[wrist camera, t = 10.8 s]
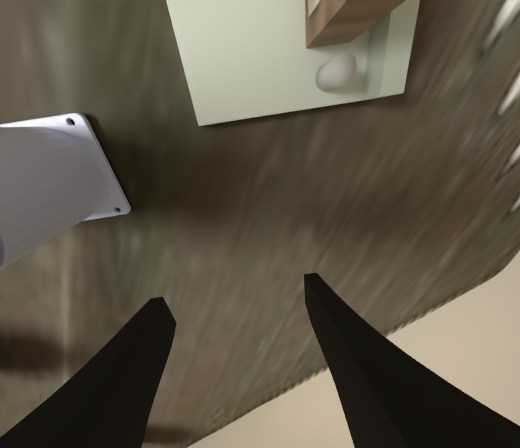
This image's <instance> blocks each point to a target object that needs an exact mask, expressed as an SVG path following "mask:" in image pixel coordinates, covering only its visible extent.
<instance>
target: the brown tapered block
mask: <svg viewBox="0 0 520 448" xmlns="http://www.w3.org/2000/svg"><path fill="white" fill-rule="evenodd" d="M404 1H406V0H305V29H306V48H313V47H320V46H327V45H334V44H341V43H348V42H351V41H352V40H354V39H355V38H356V37H358V36H359V35H360V34H362V33H363V32H364V31H366V30H367V29H368V28H370V27H371V26H372V25H374V24H375V23H376V22H378V21H379V20H380V19H382V18H383V17H384V16H386V15H387V14H388V13H390V12H391V11H392V10H394V9H395V8H396V7H398V6H399V5H400V4H402V3H403V2H404Z"/></svg>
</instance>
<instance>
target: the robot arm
mask: <svg viewBox="0 0 520 448" xmlns="http://www.w3.org/2000/svg"><path fill="white" fill-rule="evenodd" d="M71 119H73V120H74V122H75V125H73V124H72V123H71V121H70V120H71ZM117 207H118V208H119V209H120V210H121V211H119V210H117ZM130 211H131V207H130V205H129V203H128V201H127V199H126V197H125V195H124V193H123V191H122V188H121V186H120V184H119V182H118V180H117V178H116V176H115V174H114V172H113V170H112V168H111V166H110V164H109V162H108V160H107V158H106V156H105V154H104V152H103V150H102V148H101V146H100V144H99V142H98V140H97V138H96V136H95V134H94V132H93V130H92V128H91V125H90V123H89V121H88V120H87V118H86V117H85V116H84V115H82V114H80V113H71V114H65V115H58V116H52V117H45V118H39V119H32V120H25V121H19V122H12V123H6V124H0V271H1V270H2V269H4V268H6V267H7V266H9V265H11V264H12V263H14V262H16V261H17V260H19V259H20V258H22V257H24V256H25V255H27V254H29V253H30V252H32V251H34V250H35V249H37V248H39V247H40V246H42V245H43V244H45V243H47V242H48V241H50V240H52V239H53V238H55V237H57V236H58V235H60V234H62V233H63V232H65V231H66V230H68V229H70V228H71V227H73V226H75V225H76V224H78V223H80V222H81V221H86V220H92V219H98V218H104V217H111V216H117V215H123V214H127V213H129V212H130ZM304 286H305V304H306V307H307V311H308V314H309V318H310V321H311V324H312V327H313V329H314V332H315V334H316V337H317V339H318V342H319V344H320V347H321V349H322V352H323V354H324V357H325V359H326V362H327V364H328V367H329V369H330V372H331V374H332V377H333V380H334V382H335V385H336V389H337V392H338V395H339V398H340V401H341V404H342V408H343V411H344V414H345V417H346V421H347V424H348V427H349V430H350V434H351V437H352V440H353V443H354V447H355V448H520V426H519V425H517V424H515V423H513V422H512V421H510V420H508V419H507V418H505V417H503V416H502V415H500V414H498V413H497V412H495V411H493V410H491V409H490V408H488V407H486V406H485V405H483V404H482V403H480V402H478V401H477V400H475V399H473V398H472V397H470V396H469V395H467V394H466V393H464V392H462V391H461V390H459V389H458V388H456V387H455V386H453V385H452V384H450V383H448V382H447V381H445V380H444V379H442V378H441V377H440V376H438V375H437V374H435V373H434V372H432V371H431V370H429V369H428V368H426V367H425V366H424V365H422V364H421V363H419V362H418V361H416V360H415V359H413V358H412V357H411V356H409V355H408V354H406V353H405V352H404V351H402V350H401V349H400V348H398V347H397V346H396V345H394V344H393V343H392V342H390V341H389V340H388V339H386V338H385V337H384V336H383V335H382V334H380V333H379V332H378V331H377V330H375V329H374V328H373V327H372V326H371V325H369V324H368V323H367V322H366V321H365V320H364V319H363V318H361V317H360V316H359V315H358V314H357V313H356V312H355V311H354V310H353V309H351V308H350V307H349V306H348V305H347V304H346V303H345V302H344V301H343V300H342V299H341V298H340V297H339V296H338V295H337V294H336V293H335V292H334V291H333V290H332V289H331V288H330V287H329V286H328V285H327V284H326V282H325V281H324V280H323V279H322V278H321V277H320V276H319V275H318V274H317V273H311V274H304ZM175 328H176V321H175V319H174V317H173V315H172V314H171V312H170V310H169V308H168V306H167V304H166V302H165V300H164V298H163V297H158V298H152V299H150V300H149V301H148V302H147V303H146V304H145V305H144V306H143V307H142V308H141V309H140V310H139V311H138V312H137V313H136V314H135V315H134V316H133V317H132V318H131V319H130V320H129V321H128V323H127V324H126V325H125V326H124V327H123V328H122V329H121V330H120V331H119V332H118V333H117V334H116V335H115V336H114V337H113V338H112V339H111V340H110V341H109V342H108V343H107V344H106V345H105V346H104V347H103V348H102V349H101V350H100V351H99V352H98V353H97V354H96V355H95V356H94V357H93V358H92V359H91V360H90V361H89V362H88V363H87V364H86V365H85V366H84V367H82V368H81V369H80V370H79V371H78V372H77V373H76V374H75V375H74V376H73V377H72V378H71V379H69V380H68V381H67V382H66V383H65V384H64V385H63V386H62V387H60V388H59V389H58V390H57V391H56V392H55V393H54V394H52V395H51V396H50V397H49V398H48V399H47V400H46V401H44V402H43V403H42V404H41V405H40V406H38V407H37V408H36V409H35V410H33V411H32V412H31V413H30V414H29V415H27V416H26V417H25V418H24V419H23V420H21V421H20V422H19V423H18V424H16V425H15V426H14V427H13V428H12V429H10V430H9V431H8V432H7V433H5V434H4V435H3V436H2V437H0V448H141V446H142V442H143V438H144V434H145V430H146V426H147V422H148V418H149V414H150V411H151V407H152V404H153V401H154V398H155V395H156V392H157V389H158V386H159V383H160V380H161V377H162V374H163V371H164V368H165V365H166V362H167V359H168V356H169V353H170V350H171V346H172V343H173V338H174V333H175Z"/></svg>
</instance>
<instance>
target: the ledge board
mask: <svg viewBox="0 0 520 448" xmlns="http://www.w3.org/2000/svg"><path fill="white" fill-rule="evenodd" d="M166 1H167V5H168V9H169V13H170V17H171V21H172V24H173V28H174V32H175V36H176V40H177V44H178V48H179V52H180V56H181V59H182V63H183V67H184V71H185V75H186V79H187V83H188V87H189V91H190V94H191V98H192V102H193V106H194V110H195V114H196V118H197V122H198V126H203V125H210V124H216V123H222V122H229V121H235V120H242V119H248V118H254V117H261V116H267V115H274V114H280V113H286V112H293V111H299V110H306V109H312V108H318V107H325V106H331V105H338V104H344V103H350V102H357V101H363V100H370V99H376V98H381V97H386V96H391V95H396V94H401V93H404V88H405V82H406V76H407V71H408V65H409V60H410V54H411V48H412V43H413V37H414V31H415V26H416V20H417V14H418V9H419V3H420V0H406V1H404V2H403V3H402V4H400V5H399V6H398V7H396V8H395V9H394V10H392V11H391V12H390V13H388V14H387V15H386V16H384V17H383V18H382V19H380V20H379V21H378V22H376V23H375V24H374V25H372V26H371V27H370V28H368V29H367V30H366V31H364V32H363V33H362V34H360V35H359V36H358V37H356V38H355V39H354V40H352V41H351V42H348V43H341V44H334V45H327V46H320V47H313V48H306V29H305V0H166Z"/></svg>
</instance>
